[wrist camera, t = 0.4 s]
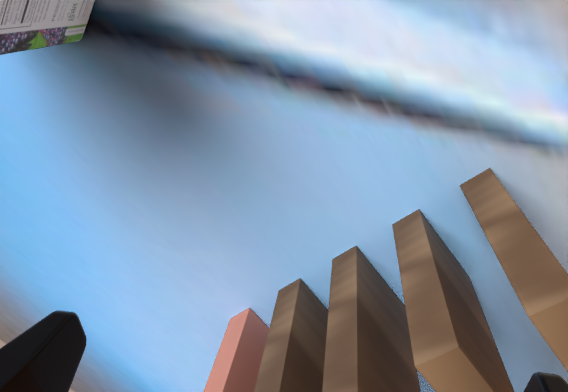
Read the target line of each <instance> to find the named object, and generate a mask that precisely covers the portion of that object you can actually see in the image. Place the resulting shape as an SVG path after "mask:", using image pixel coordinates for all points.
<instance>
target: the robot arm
mask: <svg viewBox="0 0 568 392" xmlns="http://www.w3.org/2000/svg"><path fill="white" fill-rule="evenodd" d="M85 347H86V335H85V333H84V330H83V327H82V325H81V322H80V320H79V317H78V316H77V314H76V313H74V312H68V311H55V312H53V313H51V314H49V315H48V316H46V317H45V318H44V319H42V320H41V321H39V322H38V323H36V324H35V325H34V326H32V327H31V328H29V329H28V330H26V331H25V332H23V333H22V334H21V335H19V336H18V337H16V338H15V339H13V340H12V341H11V342H9V343H8V344H6V345H5V346H3V347H2V348H1V349H0V392H68V391H69V389H70V386H71V384H72V381H73V378H74V376H75V373H76V371H77V368H78V365H79V363H80V360H81V358H82V355H83V352H84V350H85ZM524 392H568V384H567V382H566V381H565V380H564V379H563V378H562V377H560V376H558V375H556V374H549V373H541V372H537V373H535V374H533V376H532V377H531V379H530V381H529V383H528V385H527V387H526V388H525V390H524Z"/></svg>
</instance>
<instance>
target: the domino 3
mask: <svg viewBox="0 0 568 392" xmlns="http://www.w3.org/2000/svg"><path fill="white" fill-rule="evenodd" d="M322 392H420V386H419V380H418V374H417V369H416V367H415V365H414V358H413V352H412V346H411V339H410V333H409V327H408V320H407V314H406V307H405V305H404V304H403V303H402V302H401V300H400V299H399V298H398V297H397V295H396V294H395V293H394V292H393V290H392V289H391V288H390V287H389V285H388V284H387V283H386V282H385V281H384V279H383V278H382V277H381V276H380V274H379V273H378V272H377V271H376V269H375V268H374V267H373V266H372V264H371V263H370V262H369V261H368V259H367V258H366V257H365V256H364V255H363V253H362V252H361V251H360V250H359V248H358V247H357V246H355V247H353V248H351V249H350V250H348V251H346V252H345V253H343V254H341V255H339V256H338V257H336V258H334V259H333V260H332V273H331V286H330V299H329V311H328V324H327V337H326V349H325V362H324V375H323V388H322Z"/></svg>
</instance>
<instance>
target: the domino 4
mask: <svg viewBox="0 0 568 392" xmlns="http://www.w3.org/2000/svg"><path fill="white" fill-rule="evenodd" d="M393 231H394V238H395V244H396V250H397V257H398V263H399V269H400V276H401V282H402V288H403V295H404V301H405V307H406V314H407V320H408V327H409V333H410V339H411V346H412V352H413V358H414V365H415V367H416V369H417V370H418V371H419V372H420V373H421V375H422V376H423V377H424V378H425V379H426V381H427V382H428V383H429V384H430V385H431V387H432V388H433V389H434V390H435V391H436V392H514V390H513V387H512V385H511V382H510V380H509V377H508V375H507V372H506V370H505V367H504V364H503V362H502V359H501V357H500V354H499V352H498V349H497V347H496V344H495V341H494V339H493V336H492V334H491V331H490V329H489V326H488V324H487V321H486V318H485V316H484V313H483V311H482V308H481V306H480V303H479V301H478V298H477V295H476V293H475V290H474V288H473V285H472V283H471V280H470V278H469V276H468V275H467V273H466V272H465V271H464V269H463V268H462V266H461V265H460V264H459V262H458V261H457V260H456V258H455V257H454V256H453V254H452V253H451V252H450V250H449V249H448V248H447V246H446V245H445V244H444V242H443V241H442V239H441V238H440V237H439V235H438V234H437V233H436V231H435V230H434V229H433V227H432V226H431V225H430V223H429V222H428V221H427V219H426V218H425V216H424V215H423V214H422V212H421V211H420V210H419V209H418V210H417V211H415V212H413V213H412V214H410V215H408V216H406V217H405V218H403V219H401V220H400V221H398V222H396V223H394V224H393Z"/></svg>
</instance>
